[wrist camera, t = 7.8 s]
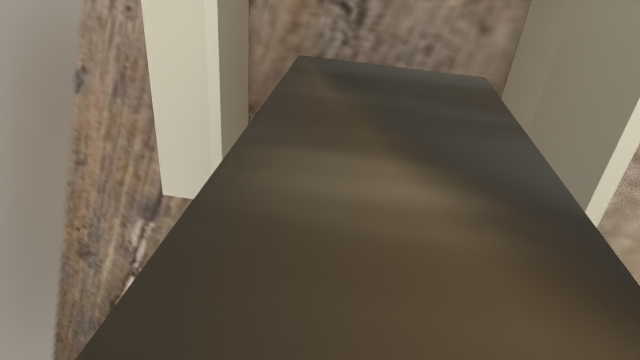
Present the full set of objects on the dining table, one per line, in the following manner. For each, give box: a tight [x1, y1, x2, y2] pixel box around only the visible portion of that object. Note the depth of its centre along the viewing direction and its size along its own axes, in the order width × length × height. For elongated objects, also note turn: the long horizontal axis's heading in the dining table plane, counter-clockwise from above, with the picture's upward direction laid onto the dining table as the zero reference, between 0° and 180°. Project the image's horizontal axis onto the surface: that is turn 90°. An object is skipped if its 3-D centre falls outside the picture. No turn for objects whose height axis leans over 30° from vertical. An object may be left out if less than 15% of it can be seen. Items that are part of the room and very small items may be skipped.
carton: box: [141, 0, 640, 228], centre depth 27 cm, size 20×26×16 cm
